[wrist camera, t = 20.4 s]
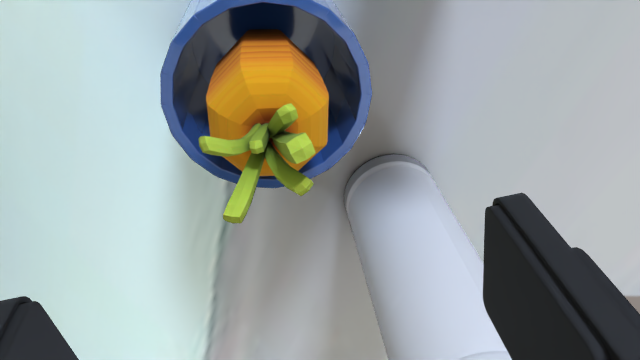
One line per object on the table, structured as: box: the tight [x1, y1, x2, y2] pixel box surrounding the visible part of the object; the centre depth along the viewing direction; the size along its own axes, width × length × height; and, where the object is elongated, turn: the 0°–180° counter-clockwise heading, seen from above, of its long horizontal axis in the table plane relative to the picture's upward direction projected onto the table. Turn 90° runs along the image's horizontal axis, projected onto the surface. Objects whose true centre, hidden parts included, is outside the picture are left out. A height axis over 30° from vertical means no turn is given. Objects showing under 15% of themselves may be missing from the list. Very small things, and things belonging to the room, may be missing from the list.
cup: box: [160, 0, 372, 188], centre depth 24 cm, size 9×9×8 cm
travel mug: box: [344, 154, 512, 360], centre depth 26 cm, size 6×7×20 cm
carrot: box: [198, 29, 329, 223], centre depth 21 cm, size 5×5×15 cm
